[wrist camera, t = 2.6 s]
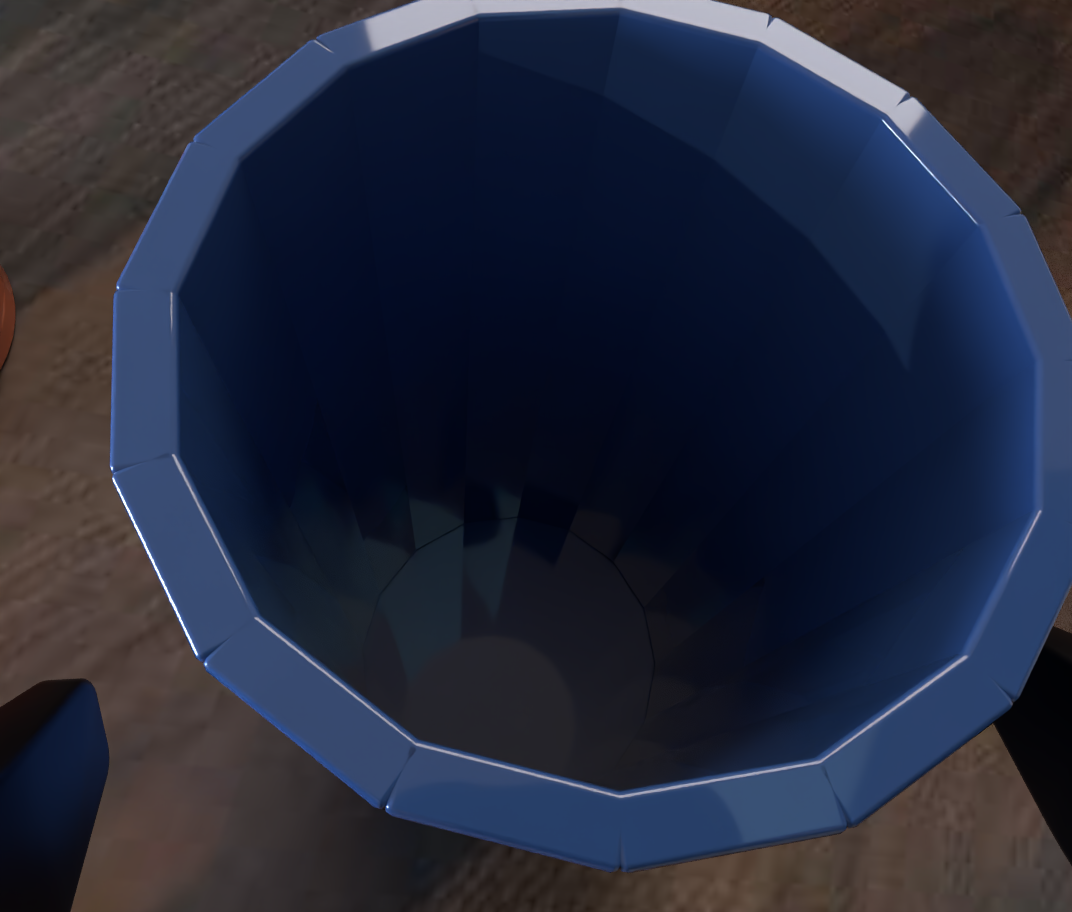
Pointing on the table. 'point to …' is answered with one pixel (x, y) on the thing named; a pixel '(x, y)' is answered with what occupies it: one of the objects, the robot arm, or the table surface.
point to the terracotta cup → (6, 316)
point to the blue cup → (598, 424)
